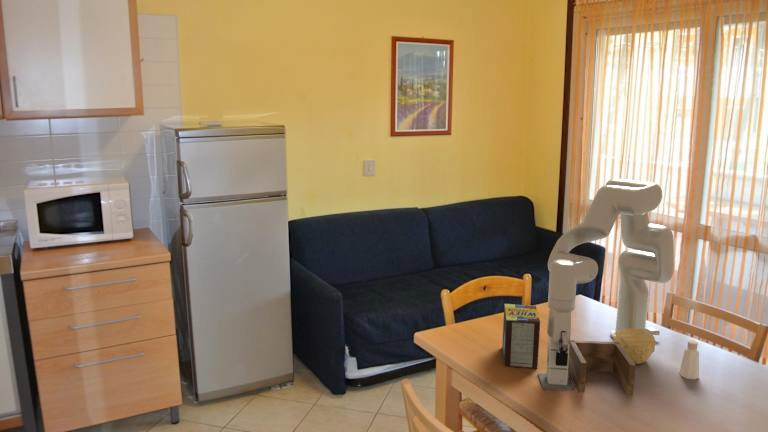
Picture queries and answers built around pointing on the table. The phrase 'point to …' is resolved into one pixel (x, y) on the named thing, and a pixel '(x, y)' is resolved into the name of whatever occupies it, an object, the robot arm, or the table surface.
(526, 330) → the protein box
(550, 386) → the mat
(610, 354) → the wooden u-shaped stand
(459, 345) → the table surface
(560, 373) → the syrup box
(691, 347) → the salt shaker
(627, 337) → the sculpture
